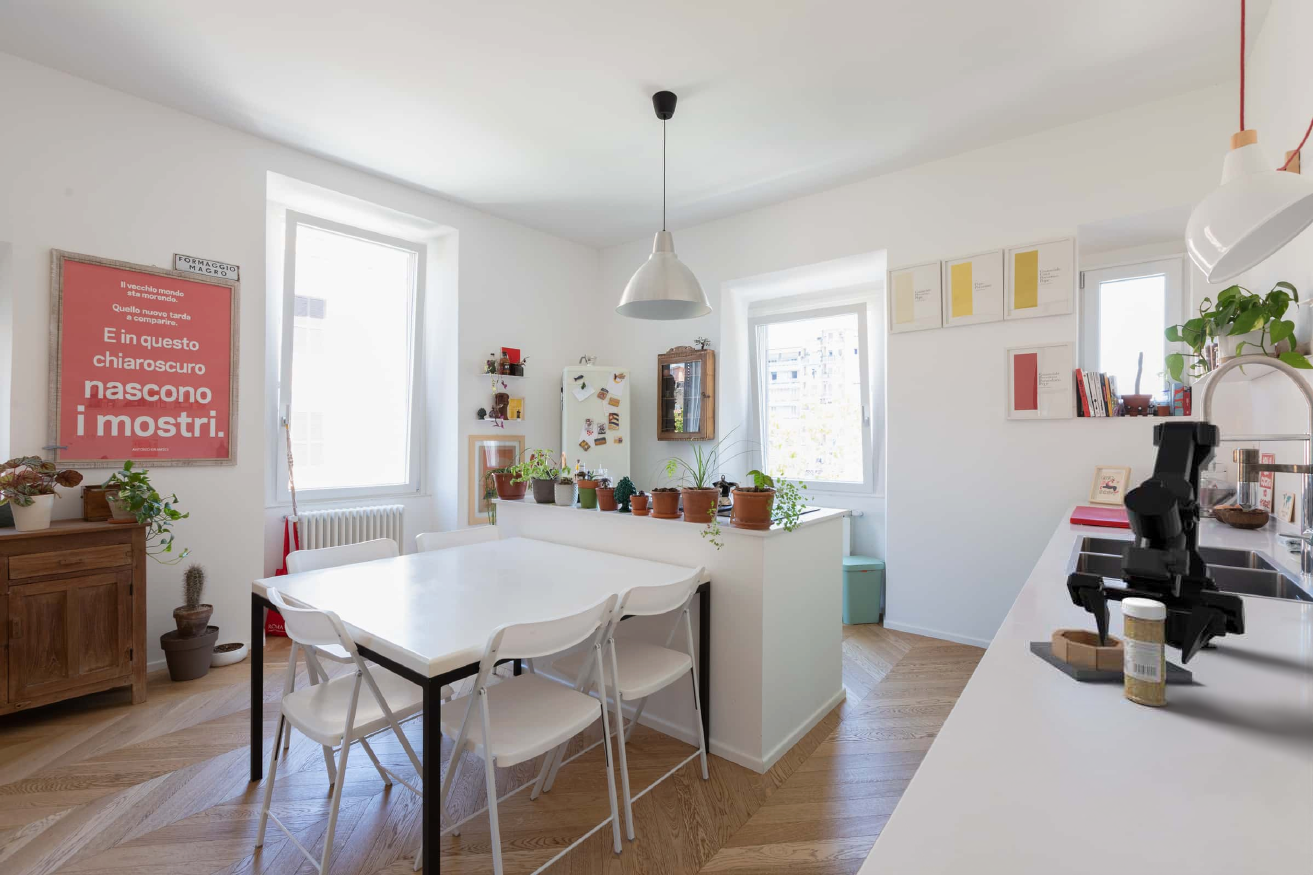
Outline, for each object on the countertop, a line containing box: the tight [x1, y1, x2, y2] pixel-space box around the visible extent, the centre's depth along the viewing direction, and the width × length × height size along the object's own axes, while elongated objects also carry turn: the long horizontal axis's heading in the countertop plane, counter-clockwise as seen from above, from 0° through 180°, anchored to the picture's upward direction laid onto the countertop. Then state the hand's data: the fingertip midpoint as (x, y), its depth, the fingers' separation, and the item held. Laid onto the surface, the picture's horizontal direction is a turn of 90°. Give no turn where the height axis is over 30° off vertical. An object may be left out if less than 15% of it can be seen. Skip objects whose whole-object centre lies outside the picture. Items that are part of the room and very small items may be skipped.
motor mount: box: [1029, 628, 1193, 684], centre depth 91 cm, size 16×12×4 cm
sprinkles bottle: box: [1121, 598, 1167, 707], centre depth 79 cm, size 5×5×14 cm
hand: (1141, 653), depth 79 cm, fingers open, 8 cm apart
